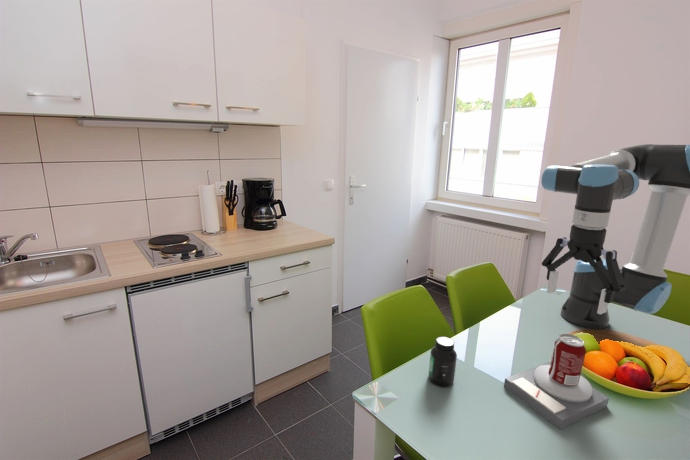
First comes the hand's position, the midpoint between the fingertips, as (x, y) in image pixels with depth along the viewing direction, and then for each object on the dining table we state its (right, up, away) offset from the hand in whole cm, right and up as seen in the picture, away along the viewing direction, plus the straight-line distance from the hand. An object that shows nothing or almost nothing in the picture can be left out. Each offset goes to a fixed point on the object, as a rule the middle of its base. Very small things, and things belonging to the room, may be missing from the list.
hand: (574, 301), depth 96 cm
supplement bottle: (-36, -22, +2) cm, 42 cm away
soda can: (-6, -20, -4) cm, 21 cm away
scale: (-8, -24, -4) cm, 25 cm away
